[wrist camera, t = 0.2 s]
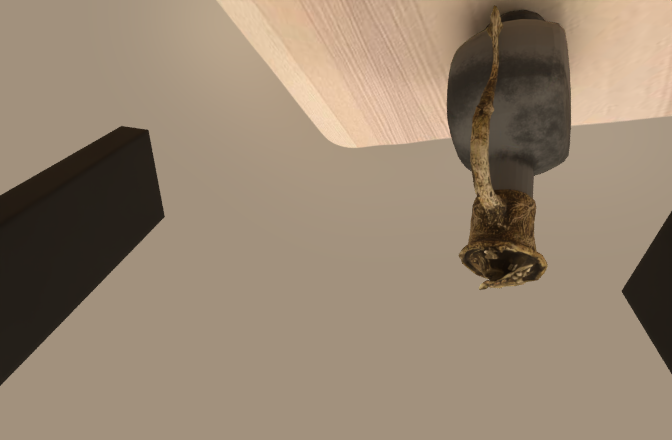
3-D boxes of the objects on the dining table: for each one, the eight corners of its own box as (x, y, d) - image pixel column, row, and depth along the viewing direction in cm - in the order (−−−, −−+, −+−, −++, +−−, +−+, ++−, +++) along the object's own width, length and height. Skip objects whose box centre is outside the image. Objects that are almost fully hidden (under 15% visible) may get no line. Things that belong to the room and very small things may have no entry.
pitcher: (480, 92, 55) (458, 310, 45) (440, -34, 41) (391, 245, 30) (573, 76, 50) (573, 322, 39) (564, -77, 35) (560, 249, 24)
